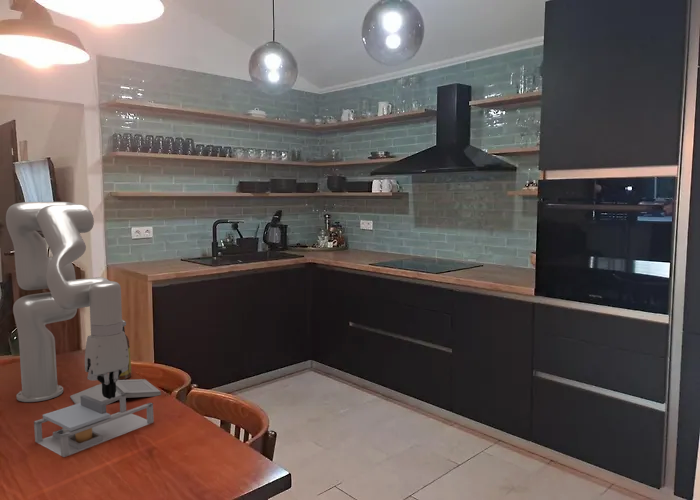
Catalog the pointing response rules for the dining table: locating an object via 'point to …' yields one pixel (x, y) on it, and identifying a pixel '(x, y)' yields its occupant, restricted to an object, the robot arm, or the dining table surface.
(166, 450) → the dining table surface
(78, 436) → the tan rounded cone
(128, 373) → the sauce bottle
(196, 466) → the dining table surface
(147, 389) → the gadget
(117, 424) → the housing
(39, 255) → the robot arm
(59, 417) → the lid
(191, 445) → the dining table surface
